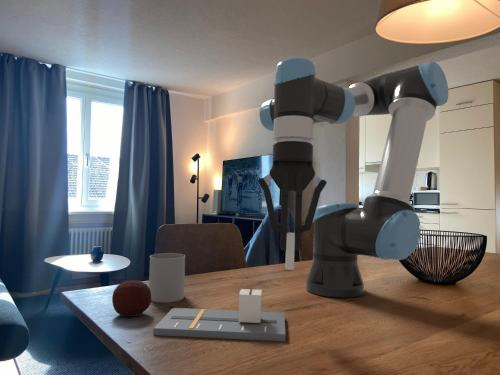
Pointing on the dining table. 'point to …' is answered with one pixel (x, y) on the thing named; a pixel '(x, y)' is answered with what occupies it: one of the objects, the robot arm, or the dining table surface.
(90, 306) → the dining table surface
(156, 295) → the cup
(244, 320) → the fader
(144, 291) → the potato
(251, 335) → the console
